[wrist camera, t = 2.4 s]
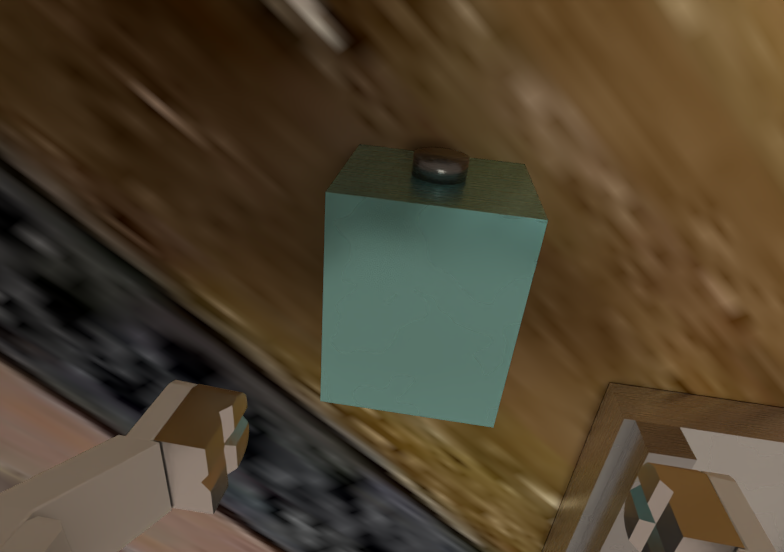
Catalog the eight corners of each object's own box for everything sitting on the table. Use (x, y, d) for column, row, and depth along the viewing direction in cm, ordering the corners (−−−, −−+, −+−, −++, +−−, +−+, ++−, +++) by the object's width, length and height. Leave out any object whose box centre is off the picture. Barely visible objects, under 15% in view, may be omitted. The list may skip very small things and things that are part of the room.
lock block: (350, 315, 20) (320, 400, 16) (361, 125, 16) (325, 168, 12) (485, 334, 20) (493, 427, 15) (528, 144, 16) (553, 196, 12)
